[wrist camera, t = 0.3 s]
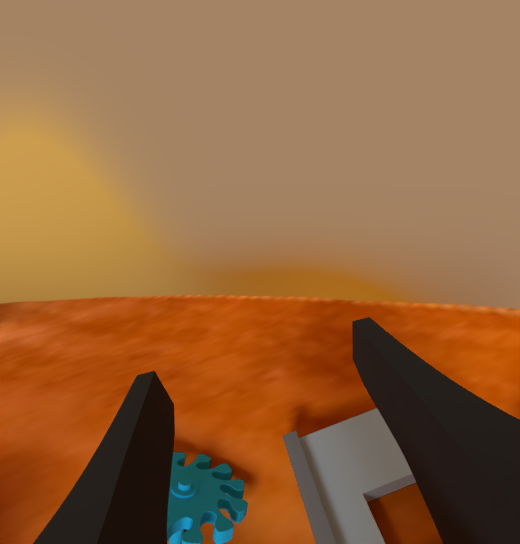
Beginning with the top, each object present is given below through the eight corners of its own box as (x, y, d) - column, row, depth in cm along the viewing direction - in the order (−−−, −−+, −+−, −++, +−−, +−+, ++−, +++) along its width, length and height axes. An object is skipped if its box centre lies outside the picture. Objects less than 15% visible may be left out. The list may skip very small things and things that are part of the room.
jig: (604, 683, 16) (644, 687, 14) (394, 783, 16) (398, 805, 13) (411, 407, 29) (414, 384, 27) (290, 454, 28) (282, 435, 26)
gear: (274, 490, 25) (167, 565, 17) (262, 565, 25) (148, 674, 17) (189, 429, 32) (85, 464, 24) (179, 488, 32) (72, 541, 24)
